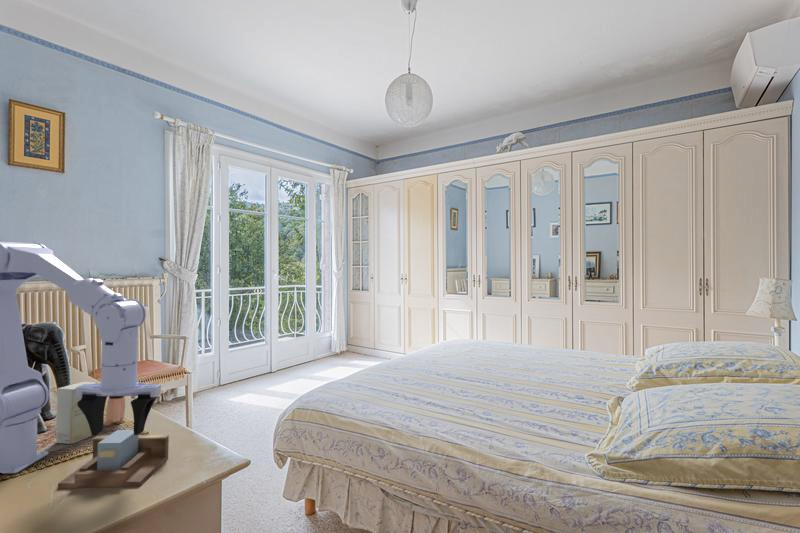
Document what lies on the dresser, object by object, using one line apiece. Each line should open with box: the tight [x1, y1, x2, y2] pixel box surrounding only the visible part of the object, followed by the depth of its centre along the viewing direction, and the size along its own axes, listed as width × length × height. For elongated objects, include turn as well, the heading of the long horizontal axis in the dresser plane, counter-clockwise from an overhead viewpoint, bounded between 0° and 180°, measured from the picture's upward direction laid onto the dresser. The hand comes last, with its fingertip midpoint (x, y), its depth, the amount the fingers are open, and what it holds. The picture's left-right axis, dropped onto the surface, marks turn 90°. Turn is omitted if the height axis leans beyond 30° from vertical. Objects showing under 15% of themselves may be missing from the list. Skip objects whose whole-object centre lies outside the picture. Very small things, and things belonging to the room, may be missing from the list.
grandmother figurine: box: [103, 396, 137, 426], centre depth 101 cm, size 8×4×13 cm, turn 132°
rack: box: [57, 434, 170, 489], centre depth 78 cm, size 14×10×5 cm
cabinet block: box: [97, 429, 138, 470], centre depth 78 cm, size 4×7×6 cm, turn 5°
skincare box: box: [55, 381, 99, 445], centre depth 92 cm, size 6×4×12 cm
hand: (118, 433), depth 78 cm, fingers open, 7 cm apart
